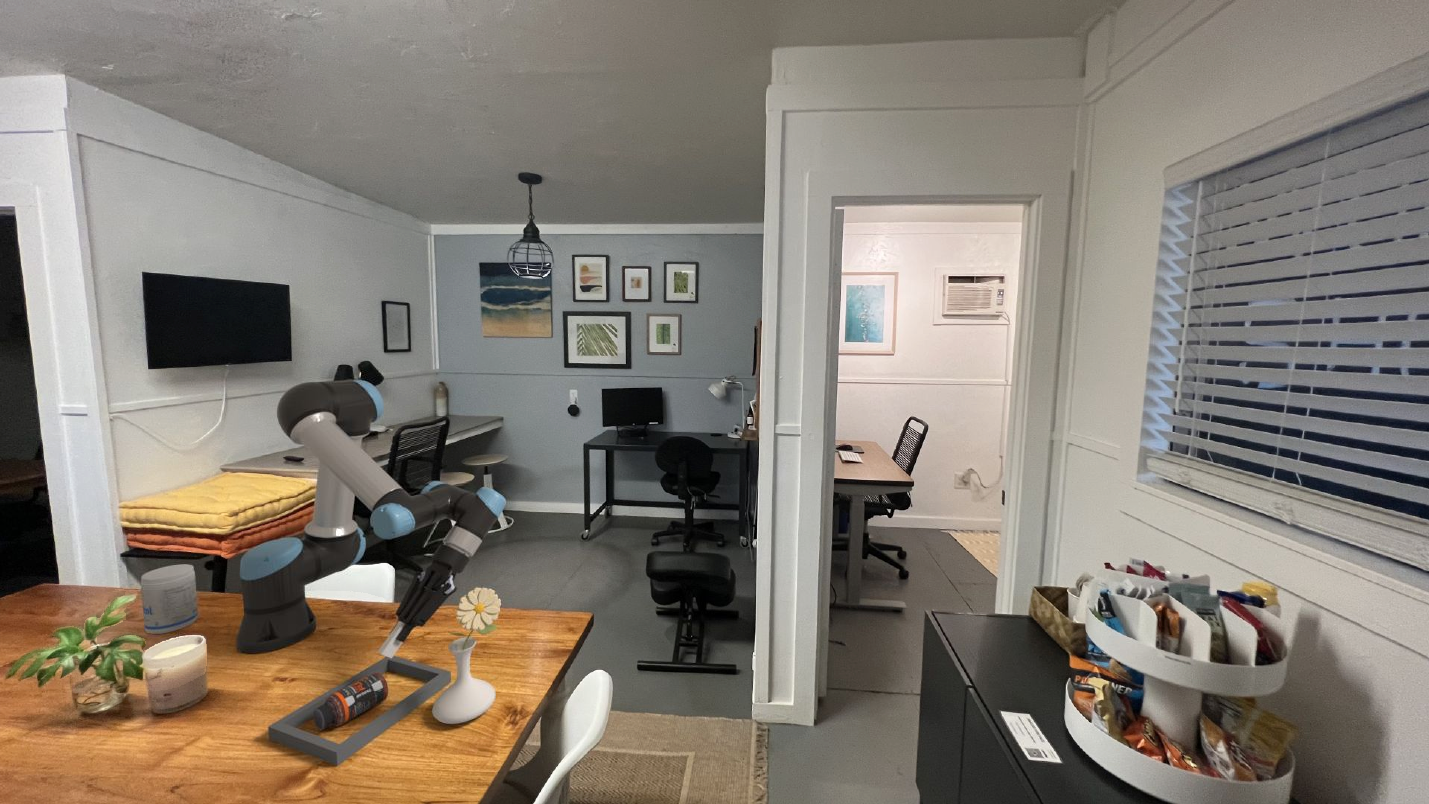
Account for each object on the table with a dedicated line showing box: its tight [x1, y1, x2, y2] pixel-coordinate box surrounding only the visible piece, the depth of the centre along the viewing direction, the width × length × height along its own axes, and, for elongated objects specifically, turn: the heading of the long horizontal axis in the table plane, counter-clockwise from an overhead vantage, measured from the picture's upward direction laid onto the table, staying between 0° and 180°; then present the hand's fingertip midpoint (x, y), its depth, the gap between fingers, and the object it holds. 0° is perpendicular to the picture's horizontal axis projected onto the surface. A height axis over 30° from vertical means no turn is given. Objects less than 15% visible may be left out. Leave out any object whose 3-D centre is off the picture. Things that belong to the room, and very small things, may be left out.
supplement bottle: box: [312, 673, 389, 731], centre depth 100 cm, size 6×6×11 cm
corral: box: [268, 655, 452, 767], centre depth 102 cm, size 18×24×2 cm
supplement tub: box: [140, 563, 199, 635], centre depth 132 cm, size 10×10×15 cm
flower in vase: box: [431, 587, 502, 725], centre depth 101 cm, size 13×11×25 cm
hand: (384, 655), depth 106 cm, fingers closed
